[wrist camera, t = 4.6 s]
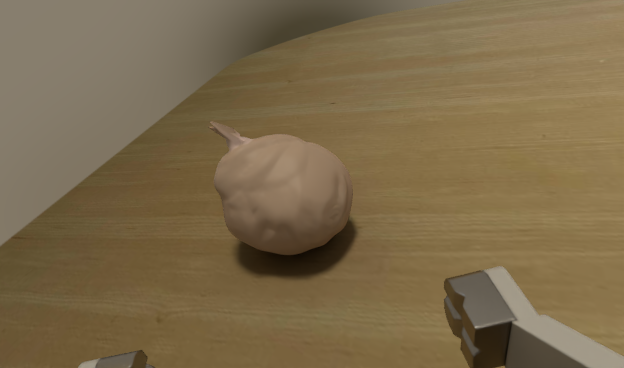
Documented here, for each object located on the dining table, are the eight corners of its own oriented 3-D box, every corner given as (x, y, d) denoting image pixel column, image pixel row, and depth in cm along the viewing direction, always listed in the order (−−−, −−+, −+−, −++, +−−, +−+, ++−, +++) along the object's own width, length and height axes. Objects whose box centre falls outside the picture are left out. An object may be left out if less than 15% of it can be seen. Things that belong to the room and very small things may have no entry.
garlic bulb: (299, 191, 28) (272, 79, 24) (377, 226, 24) (362, 98, 20) (222, 250, 25) (173, 132, 20) (297, 302, 21) (256, 169, 16)
